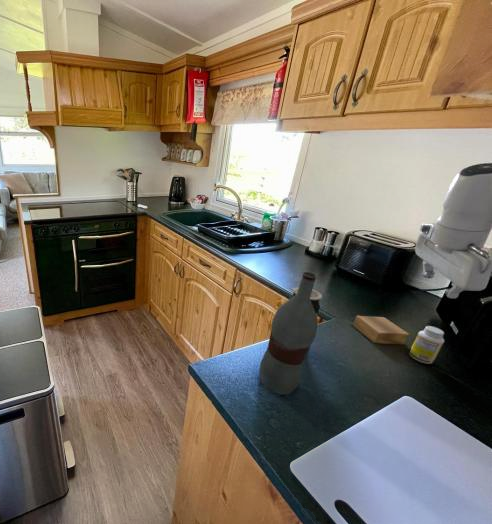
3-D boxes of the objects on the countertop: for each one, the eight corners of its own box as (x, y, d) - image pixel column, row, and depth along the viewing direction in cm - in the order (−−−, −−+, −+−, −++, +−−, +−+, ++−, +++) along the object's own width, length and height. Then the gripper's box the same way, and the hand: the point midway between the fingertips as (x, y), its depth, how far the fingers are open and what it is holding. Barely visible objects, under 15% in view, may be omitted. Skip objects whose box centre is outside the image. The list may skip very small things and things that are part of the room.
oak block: (379, 326, 102) (384, 317, 101) (404, 344, 93) (409, 334, 91) (352, 325, 102) (356, 315, 100) (374, 343, 92) (378, 332, 91)
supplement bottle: (420, 352, 89) (435, 324, 85) (437, 365, 84) (454, 336, 80) (403, 351, 89) (417, 323, 85) (419, 364, 84) (434, 334, 80)
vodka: (249, 371, 76) (277, 266, 65) (279, 367, 78) (311, 265, 67) (272, 399, 68) (308, 284, 57) (304, 394, 70) (345, 283, 59)
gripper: (513, 255, 58) (485, 311, 64) (446, 221, 75) (429, 267, 82) (473, 255, 60) (449, 309, 66) (417, 222, 77) (402, 267, 83)
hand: (438, 286), depth 74 cm, fingers open, 8 cm apart
